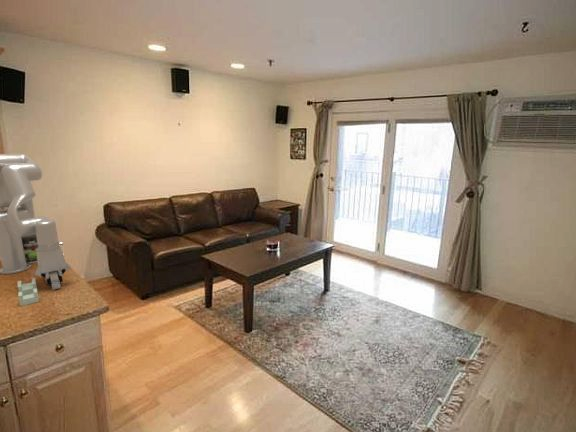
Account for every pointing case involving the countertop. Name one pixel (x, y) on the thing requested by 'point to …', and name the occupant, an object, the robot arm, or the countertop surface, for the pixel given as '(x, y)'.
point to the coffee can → (30, 248)
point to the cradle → (27, 293)
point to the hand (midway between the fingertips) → (55, 284)
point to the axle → (54, 280)
